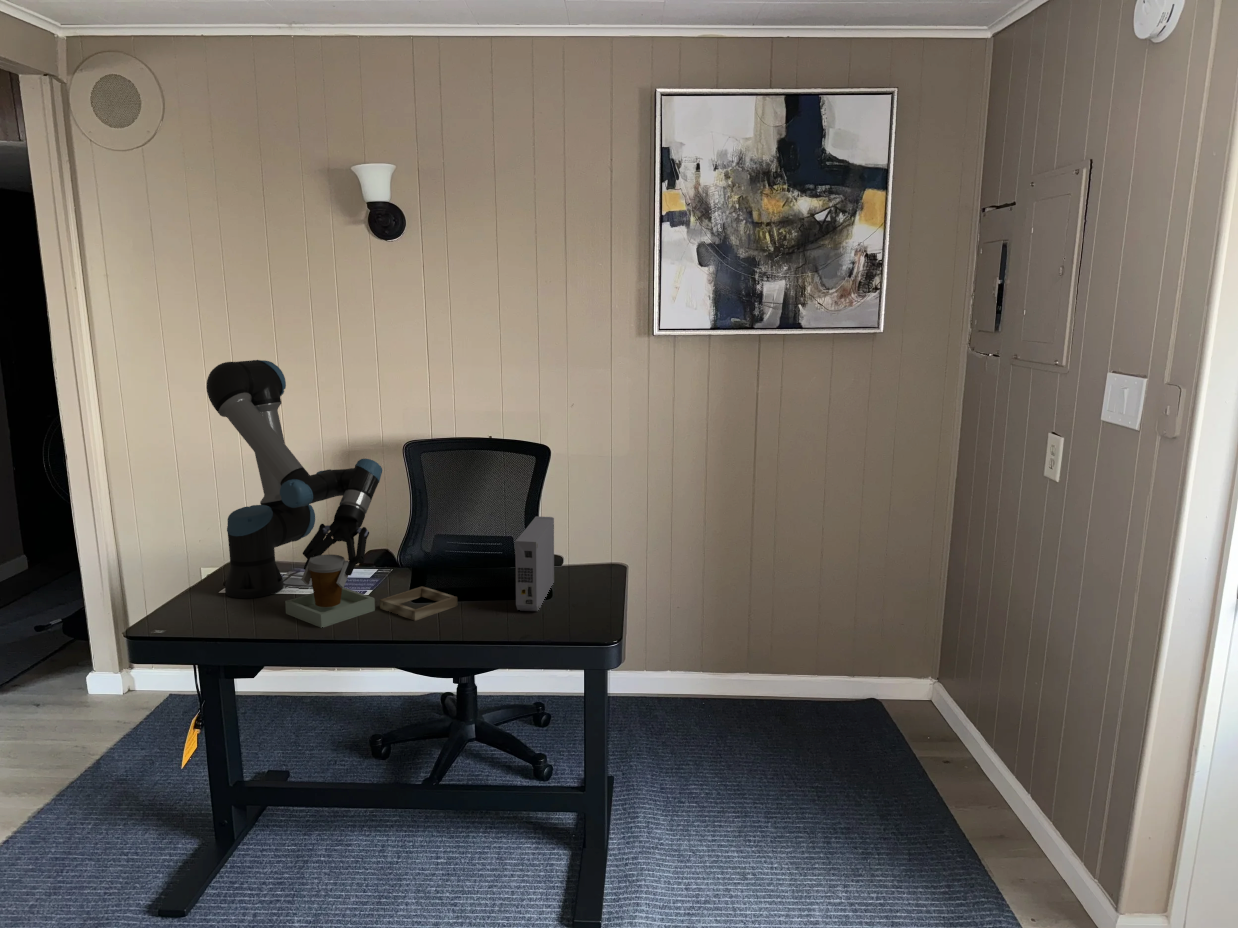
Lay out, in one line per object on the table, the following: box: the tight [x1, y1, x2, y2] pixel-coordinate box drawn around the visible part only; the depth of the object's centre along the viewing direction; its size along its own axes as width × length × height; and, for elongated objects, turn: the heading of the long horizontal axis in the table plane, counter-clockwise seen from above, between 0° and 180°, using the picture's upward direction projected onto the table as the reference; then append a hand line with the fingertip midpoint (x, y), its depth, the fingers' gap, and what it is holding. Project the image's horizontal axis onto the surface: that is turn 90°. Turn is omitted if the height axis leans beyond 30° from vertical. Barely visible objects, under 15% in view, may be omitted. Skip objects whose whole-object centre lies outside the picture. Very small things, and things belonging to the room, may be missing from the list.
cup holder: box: [379, 586, 458, 622], centre depth 224 cm, size 14×14×2 cm
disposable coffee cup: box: [308, 553, 346, 607], centre depth 218 cm, size 10×10×12 cm
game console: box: [514, 515, 555, 612], centre depth 231 cm, size 6×27×20 cm, turn 174°
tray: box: [284, 587, 376, 629], centre depth 219 cm, size 16×16×4 cm
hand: (322, 583), depth 215 cm, fingers closed on disposable coffee cup, 9 cm apart
